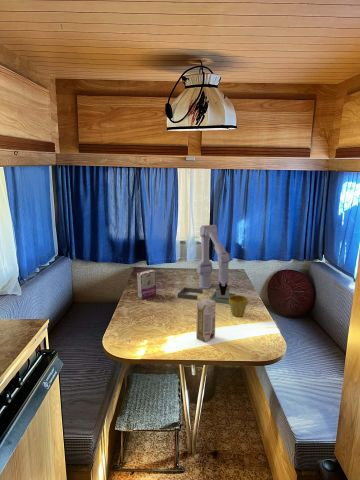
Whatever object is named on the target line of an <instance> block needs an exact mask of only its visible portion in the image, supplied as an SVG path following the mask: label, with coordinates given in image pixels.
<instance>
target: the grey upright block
mask: <svg viewBox="0 0 360 480" xmlns="http://www.w3.org/2000/svg"><path fill="white" fill-rule="evenodd" d="M215 291H216V298H229V293H230V286H228V287H227V288H226V292H225V295H221V290H220V287H219V285H218V286H217V285H216V286H215Z"/></svg>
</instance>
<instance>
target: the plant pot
mask: <svg viewBox="0 0 360 480" xmlns="http://www.w3.org/2000/svg"><path fill="white" fill-rule="evenodd" d="M248 301H249V299H248V297H247V296H244V295H239V294H236V295H233V296H230V297H229V304H228V305H230V311H231V315H232V316H233V317H235V318H241V317H243V316H244V315H245V310H246V307H247V306H248V303H249V302H248Z"/></svg>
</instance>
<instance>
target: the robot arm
mask: <svg viewBox="0 0 360 480" xmlns="http://www.w3.org/2000/svg"><path fill="white" fill-rule="evenodd" d="M199 237H201V251H200V252H201V260H199V262H197V266H196V272H197V274H198V275H199V278H198V280H199V281H198V282H199V285H197V289H208V290H209V289H210V288H211V287H212V285H213V284H212V283H211V282H212V281H211V280H212V279H211V274H212V273H213V270H214V268H213V263H212V262H211V261H210V240H211V241H212V243H213V245H214V246H213V248H214V250H215V253H216V255H217V265H218V278H217V279H216V281H218V286H219V287H220V290H221V295H225V292H226V288H227V287H229V284H228V282H229V265H230V264H229V263H230V262H231V259H232V258H231V255H230V253H229V252H227V250H226V249H225V246H224V244H223V243H221V241H220V239H219V236H218V227H217V225H216V224H209V225H207V224H205V225H201V226H200V228H199Z"/></svg>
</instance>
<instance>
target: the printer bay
mask: <svg viewBox="0 0 360 480" xmlns="http://www.w3.org/2000/svg"><path fill="white" fill-rule="evenodd" d="M203 289H204V288H195V287H187V286H184V287H183V288H182V289H181V290H180V291H178V293H177V298H179V299H187V300H197V301H198V295H194V294H188V292H189V293H197V294H204V293H203V292H204V290H203ZM185 292H187V294H186V293H185Z"/></svg>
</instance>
